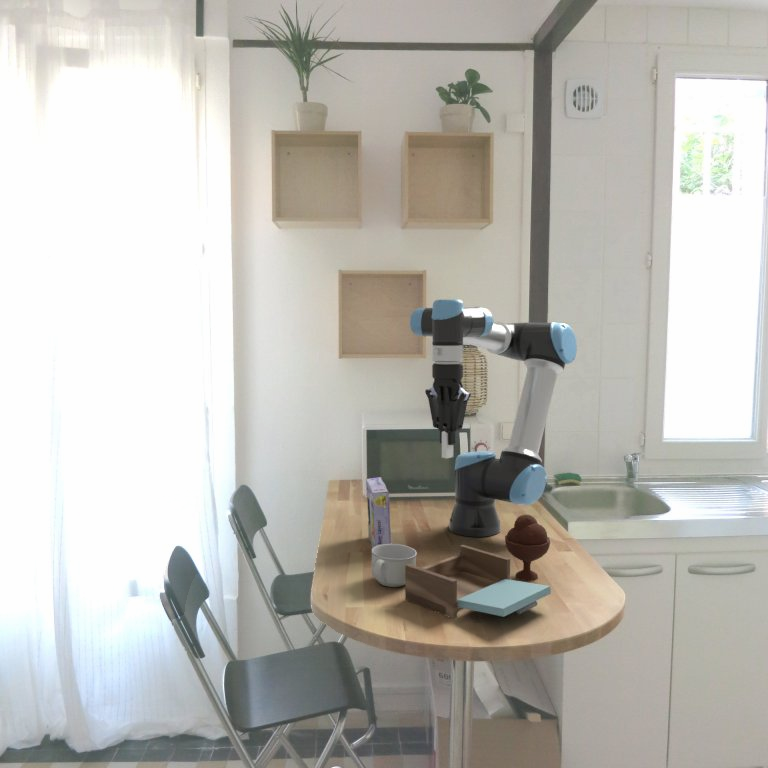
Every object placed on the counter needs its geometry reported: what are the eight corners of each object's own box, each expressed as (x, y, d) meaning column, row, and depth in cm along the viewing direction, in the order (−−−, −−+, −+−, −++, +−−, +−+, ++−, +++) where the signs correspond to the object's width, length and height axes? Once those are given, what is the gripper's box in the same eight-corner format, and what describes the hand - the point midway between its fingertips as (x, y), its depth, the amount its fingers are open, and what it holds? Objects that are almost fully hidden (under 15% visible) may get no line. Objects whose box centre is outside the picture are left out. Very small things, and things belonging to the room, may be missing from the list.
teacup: (390, 571, 179) (390, 539, 178) (425, 581, 172) (425, 548, 171) (353, 587, 168) (353, 554, 167) (389, 599, 161) (389, 564, 161)
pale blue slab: (505, 578, 163) (550, 586, 155) (506, 591, 163) (551, 599, 155) (457, 599, 152) (503, 608, 143) (458, 612, 152) (504, 622, 143)
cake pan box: (366, 536, 207) (365, 476, 205) (383, 535, 208) (383, 475, 206) (373, 558, 188) (372, 492, 186) (392, 557, 189) (391, 491, 187)
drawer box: (462, 576, 175) (462, 544, 174) (509, 592, 165) (510, 558, 164) (405, 599, 161) (405, 565, 160) (453, 618, 151) (453, 581, 150)
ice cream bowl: (495, 577, 174) (495, 516, 173) (521, 565, 182) (522, 507, 181) (532, 588, 167) (533, 525, 165) (558, 576, 175) (559, 516, 173)
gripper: (417, 362, 178) (418, 455, 180) (458, 364, 169) (458, 463, 171) (437, 360, 183) (437, 451, 185) (478, 362, 174) (477, 458, 176)
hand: (447, 457), depth 178 cm, fingers closed
